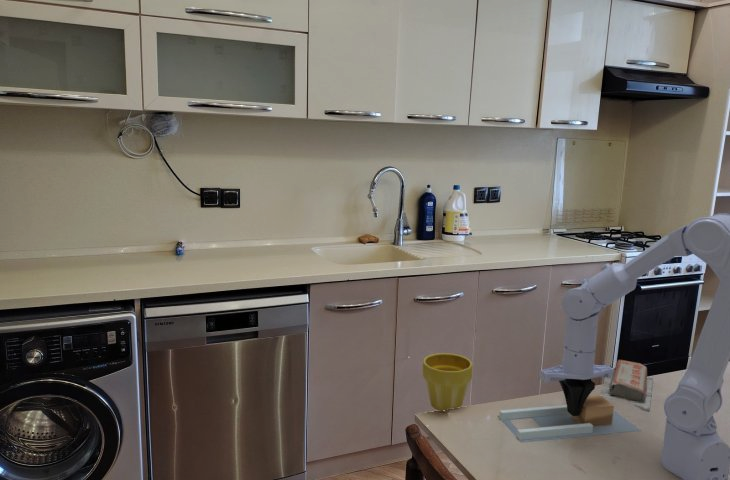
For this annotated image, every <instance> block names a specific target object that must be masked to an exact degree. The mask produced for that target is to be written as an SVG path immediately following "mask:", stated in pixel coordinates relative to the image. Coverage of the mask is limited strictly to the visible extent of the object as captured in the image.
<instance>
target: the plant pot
mask: <svg viewBox="0 0 730 480" xmlns="http://www.w3.org/2000/svg"><path fill="white" fill-rule="evenodd" d="M473 366H474V365H473V363H472V360H470V359H469V358H468V357H466V356H463V355H460V354H458V353H457V354H456V353H448V352H438V353H432V354H429V355H427V356H426V357H424V359H423V360H422V377H423V379H424V380H425V381H426V386H427V393H428V395H429V396H428V397H429V402H430V405H431V407H432V408H433V409H435V410H437V411H438V412H444V413H450V411H449V410H452V409H458V408H460V407H462V405H464V400H465V396H466V393H467V388H468V386H469V385H468V384H470V383H471V381H472V379H473ZM443 410H445V411H443Z"/></svg>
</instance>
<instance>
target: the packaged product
mask: <svg viewBox="0 0 730 480" xmlns="http://www.w3.org/2000/svg"><path fill="white" fill-rule="evenodd" d="M647 377H648V368H647V366H646V365H644V364H642V363H640V362H635V361H630V360H629V361H628V360H624V359H618V360H617V362H616V364H615V367H614V370H613V378H607V377H604V380H603V384H602V387H601V390H600V393H599V395H600V396H601V397H603V398H604V399H610V400H613V399H619V398H620V399H625V400H626V401H628V402H630V403H631V404H632V405H633V406H635V407H636V408H638V409H640V410H641V411H643V412H650V407H651V402H652V390H653V381H654V378H653V377H648V378H647Z"/></svg>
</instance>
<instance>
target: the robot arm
mask: <svg viewBox="0 0 730 480" xmlns="http://www.w3.org/2000/svg"><path fill="white" fill-rule="evenodd" d="M691 255H694V256H696V257H697V258H698V259H699V260H701V261H702V262H704V263H706V265H708V266H709V268H710V269H711V270H712V272H713V273H714V274H715V275H716V277H717V278H718V279H719V283H718V286H717V289H716V292H715V294H714V296H713V298H712V302H711V305H710V308H709V310H708V313H707V315H706V318H705V321H704V324H703V327H702V329H701V332H700V334H699V337H698V340H697V343H696V346H695V348H694V351H693V354H692V356H691V359H690V361H689V364H688V367H687V369H686V370H685V372H684V374H683V376H682V378H681V379H680V381H679V382H678V385H677V387H676V389H675V391H674V392H672V393H671V394H670V395H668V396H667V397H666V399H665V400H664V403H663V411H664V415H665V417H666V419H665V427H664V428H665V429H664V434H663V435H664V436H663V442H662V443H663V444H662V451H661V460H660V462H661V465H662V466H663V467H664V469H666V470H667V471H669V472H670V473H672V474H673V475H675V476H677V477H679V478H681V480H729V475H730V446H729V445H728V444H727V443H726V442H725V441H724V440H723V439H722V438H721V437H720V436H719V434H718V431H717V422H716V420H715V419H716V418H714V414H715V413H717V412H718V411H719V410H721V408H722V406H723V395H722V388H723V387H722V386H723V383H724V374H725V372H726V370H727V367H728V364H729V362H730V213H727V212H726V213H723V212H722V213H721V212H720V213H715V214H712V215H710V216H703V217H699V218H697V219H694V220H693V221H691V222H690V223H689V224H688V225H684V226H681V227H680V228H677V229H675V230H673V231H672V232H669V233H668V234H665V235H664V236H663V237H662V238H660V239H659V240H657V241H656V242H655V243H652V244H651V245H650V246H649V247H647V248H646V249H645V250H643V251H642V252H640V253H639V254H637V255H636V256H635V257H633V258H632V259H631V260H629V261H628V262H626V263H621V262H613V263H611V264H610V263H605V264H603V265H602V266H600V269H601V271H599V272H598V273H596V274H594V275H593V276H592V277H590V278H585V279H583V280H581V281H580V284H581V285H580V286H578V287H574V288H570V289H568V290H567V292H566V293H564V295H563V297H562V299H561V307H562V309H563V312H564V313H565V314H566V315H565V323H564V334H563V335H564V336H563V350H562V357H561V358H562V359H561V364H560V365H556V366H552V367H549V368H543V369H540V373H539V374H540V375H539V379H540V380H541V381H542V382H543V383H545V384H549V383H550V382H554V381H555V382H557V381H558V383H559V385H560V387H561V389H562V392H563V394H564V399H565V403H566V404H565V405H567V411H568V412H569V413H570V414H571V415H572V416H579V415H580V412H581V409H582V407H583V405H584V403H585V401H586V399H587V397H588V396H590V394H591V393H592V392H593V391H594V390H595V389H596V383H595V382H594V381H593V380H592V379H599V378H605V377H607V378H613V370H615V368H613V367H611V366H609V365H608V364H605V365H603V364H595V359H596V358H595V357H596V346H597V339H598V338H597V337H598V336H597V335H598V328H599V327H598V324H599V315H600V313H601V312H602V311H603V310H604V309H605V307H608V306H609V305H611V304H613V303H615V302H616V301H618V300H619V299H621V298H623V297H624V296H626V295H628V294H629V293H630V292H632V291H635V289H636V287H637V282H638V278H639V279H640V277H641V276H642V277H643V276H644V275H646V274H647V273H649V272H651V271H652V270H655V269H656V268H658V267H659V266H661V265H663V264H664V263H666V262H667V261H670V260H672V259H674V258H675V257H688V256H691Z"/></svg>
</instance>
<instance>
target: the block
mask: <svg viewBox="0 0 730 480" xmlns="http://www.w3.org/2000/svg"><path fill="white" fill-rule="evenodd" d="M614 406H615V405H614V404H613V403H611V402H610V401H608V400H607V399H606V398H605V397H601V396H600V394H598V395H589V396H588V397H587V399H586V401H585V403H584V405H583V407H582V409H581V412H580V415H579V416H572V415H571V416H572V417H573V418H574V419H575V420H577V421H578V422H579V423H580V424H585V423H591V424H592V425H593V426H602V425H612V419H613V410H614Z"/></svg>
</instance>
